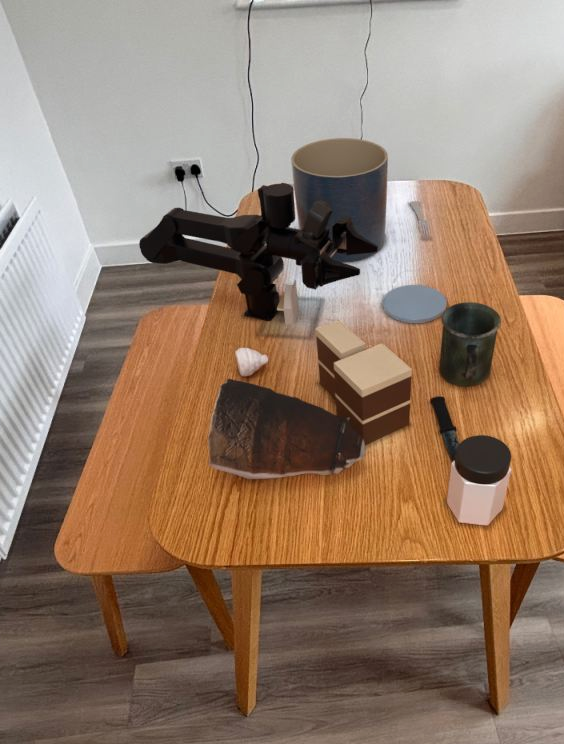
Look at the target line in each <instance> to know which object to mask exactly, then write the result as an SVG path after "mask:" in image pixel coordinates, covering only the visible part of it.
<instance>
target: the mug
mask: <svg viewBox="0 0 564 744" xmlns="http://www.w3.org/2000/svg"><path fill="white" fill-rule="evenodd" d="M440 317H441V319H440V320H441V324H442V332H441V344H440V355H439V364H438V369H439V373H440V375H441V376H442V378H443V379H444V380H445V381H446V382H447V383H449V384H451V385H454V386H457V387H463V388H464V387H465V388H466V387H468V388H469V387H476V386H478V385H480V384H482V383H484V382H485V381H486V380H487V379H488V378H489V377H490V375H491V371H492V365H493V359H494V353H495V346H496V341H497V334H498V330H499V329H500V328H501V325H502V318H501V315H500V313H498V312H497V310H495V309H494V308H493V307H491V306H489V305H487V304H483V303H480V302H475V301H473V302H471V301H465V302H460V303H455V304H452V305H450V306H449V307H446V310H445V311H444V312H443V314H442V315H441V316H440Z"/></svg>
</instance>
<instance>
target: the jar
mask: <svg viewBox="0 0 564 744" xmlns="http://www.w3.org/2000/svg"><path fill="white" fill-rule="evenodd" d="M511 461H512V451H511V450H510V448H509V447H508V445H507V444H506V443H505V442H504V441H502V440H501V439H499V438H497V437H494V436H491V435H485V434H477V435H472V436H469V437H466V438H465V439H463V440H461V441H460V442H459V445H458V447H457V450H456V454H455V460H454V461H453V462H452V461H451V463H450V474H449V481H448V488H447V497H446V504H447V506H448V507H449V509H450V510H451V512H452V514H453V515H454V517H455V519H456V520H457V522H458V523H461V524H469V525H479V526H489V525H490V524H491V523H492V521H494V519H495V518H496V517H497V516H498V515H499V514H500V512H501V511H502V510H503V508H504V504H505V500H506V495H507V491H508V487H509V483H510V478H511V474H512V468H511Z"/></svg>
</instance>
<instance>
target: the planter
mask: <svg viewBox="0 0 564 744" xmlns="http://www.w3.org/2000/svg"><path fill="white" fill-rule="evenodd" d="M290 159H291V160H290V163H291V171H292V180H293V190H294V201H295V209H296V215H297V223H298V229H300V230H301V229H302V228H303V227H304V225H305V221H306V218H307V215H308V212H309V210H310V209H311V208H312V207H313V204H314V203H315V202H316V201H320V200H321V201H323V202H324V201H327V202H328V204H329V205H330V206H331V209H332V210H333V211H332V214H331V215H330V217H329V220H328V224H327V226H326V228H329V231H330V234H329V238H330V239H332V226H333V225H334V224H335V223H336V222H337V221H338V220H339V219H340V218H341V217H342V216H348V217H352V222H353V223H354V228H355V230H356V232H357V233H358V234H360V235H361V236H363V237H364V238H366V239H367V240H369V241H371V242H372V243H374V244H375V245H377V246H378V251H377V252H374V253H365V254H355V255H346V253H343V254H341V253H337V252H335V253H334V255H333V256H332V257H331V258H332V259H333V260H336V261H339V262H342V263H351V262H357V261H361V260H364V259H365V260H366V259H368V258H370V257H372V256H374V255H375V254H377V253H378V252H379V251H380V250H381V249H383V247H384V245H385V242H386V221H387V204H388V203H387V200H388V171H389V169H388V166H389V154H388V152H387V150H386V149H385V148H384V147H383V146H381V145H380V144H378V143H375V142H373V141H369V140H365V139H359V138H352V137H351V138H349V137H345V138H344V137H336V138H327V139H322V140H321V139H320V140H316V141H312V142H309V143H307V144H305V145H303V146H301V147H299V148H297V149H296V150H295V151H294V152H293V154H292V155H291V158H290Z"/></svg>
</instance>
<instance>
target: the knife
mask: <svg viewBox="0 0 564 744" xmlns="http://www.w3.org/2000/svg"><path fill="white" fill-rule="evenodd" d="M430 403H431V404H432V407H433V410H434V414H435V416H436V420H437V422H438V424H439V433H440V434H441V435H442V438H443V440H444V443H445V446H446V450H447V452H448V455H449V458H450V460H451V463H452V462H453V461H454V460H455V454H456V450H457V447H458V445H459V444H460V441H459V438H458V435H457V433H456V432H457V430H458V429H457V426H455V425H454V423H453V420H452V418H451V415H450V412H449V409H448V406H447V404H446V398H445V397H444V396H441V395H439V396H433V397H431V398H430Z"/></svg>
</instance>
